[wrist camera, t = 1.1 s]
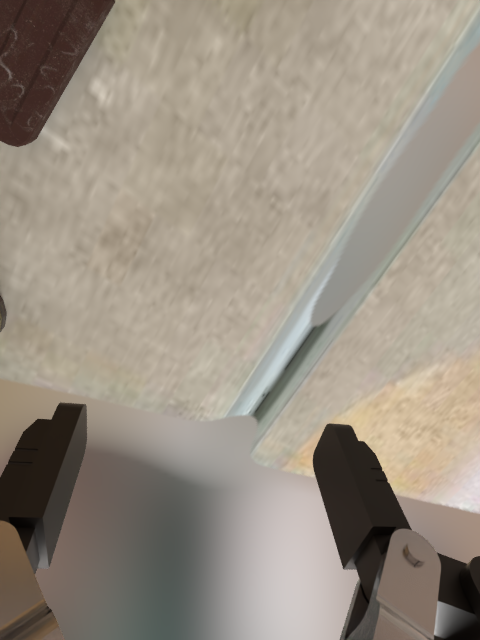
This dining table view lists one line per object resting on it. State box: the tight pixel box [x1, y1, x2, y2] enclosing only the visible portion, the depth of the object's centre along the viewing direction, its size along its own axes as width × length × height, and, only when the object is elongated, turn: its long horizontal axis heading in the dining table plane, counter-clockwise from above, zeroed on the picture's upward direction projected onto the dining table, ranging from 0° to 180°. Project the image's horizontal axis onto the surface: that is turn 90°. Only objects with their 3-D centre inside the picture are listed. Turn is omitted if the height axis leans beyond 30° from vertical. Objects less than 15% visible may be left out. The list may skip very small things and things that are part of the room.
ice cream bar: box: [0, 0, 115, 147], centre depth 19 cm, size 5×2×15 cm
